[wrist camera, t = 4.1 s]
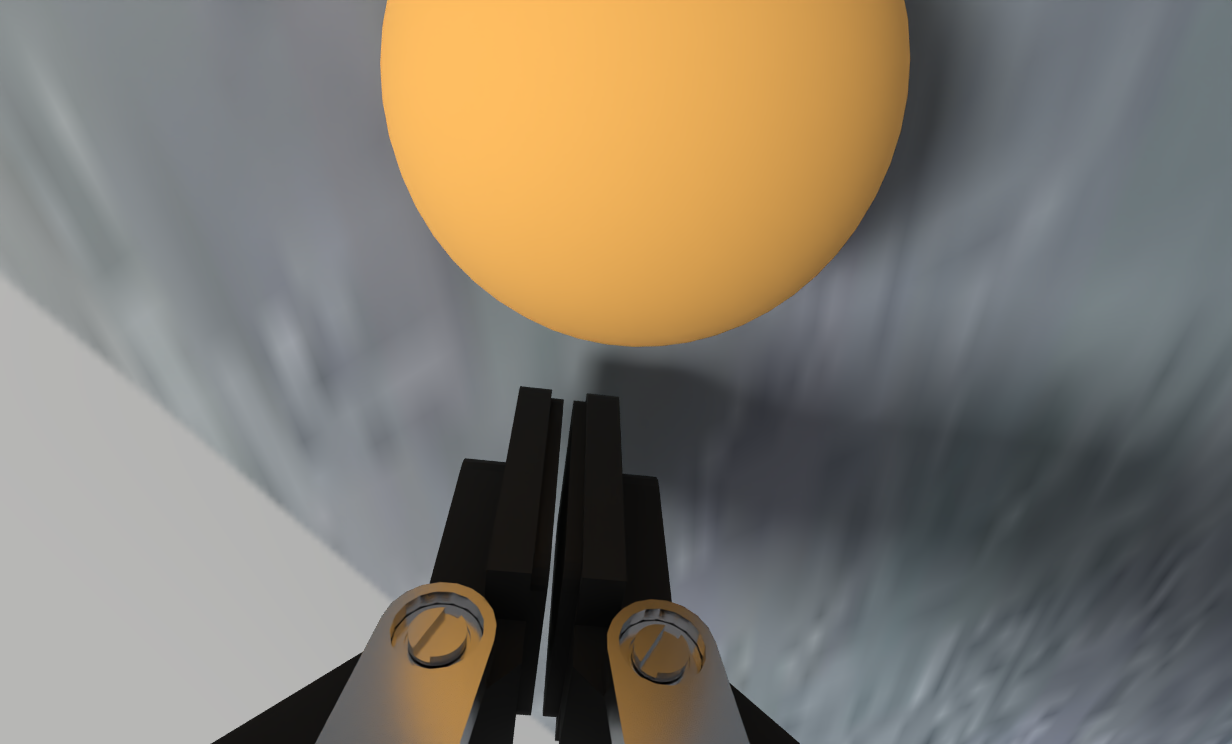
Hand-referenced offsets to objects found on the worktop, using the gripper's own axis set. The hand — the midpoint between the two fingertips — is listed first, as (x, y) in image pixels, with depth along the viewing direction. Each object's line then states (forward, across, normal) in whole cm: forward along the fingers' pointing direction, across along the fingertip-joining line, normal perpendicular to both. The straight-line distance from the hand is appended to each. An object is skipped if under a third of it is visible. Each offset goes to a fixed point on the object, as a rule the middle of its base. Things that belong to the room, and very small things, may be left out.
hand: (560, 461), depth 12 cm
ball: (-1, 0, -6) cm, 6 cm away
